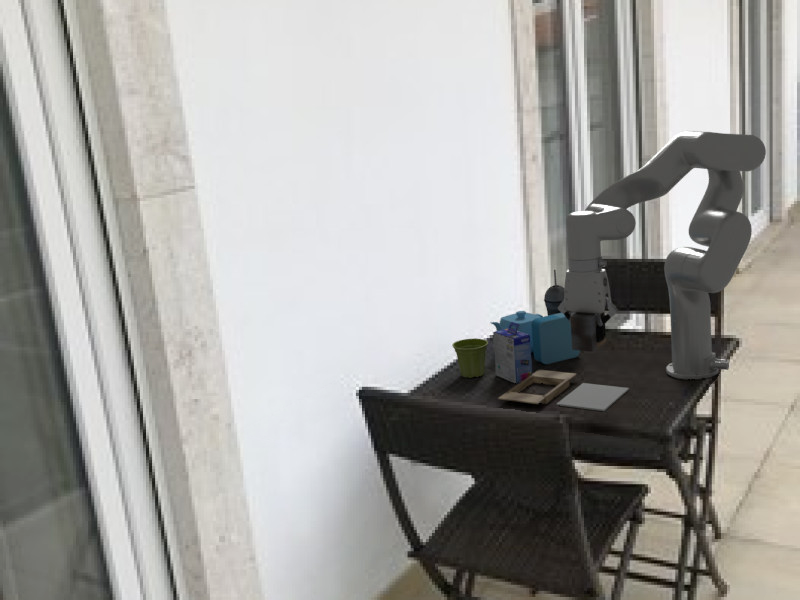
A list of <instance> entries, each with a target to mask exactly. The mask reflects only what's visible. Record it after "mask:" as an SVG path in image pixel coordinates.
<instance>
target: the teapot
mask: <svg viewBox="0 0 800 600" xmlns="http://www.w3.org/2000/svg"><path fill="white" fill-rule="evenodd" d="M540 317H544V316H543V315H542V314H539V313H535V314H534V313H531V312H526V311H525V310H518V311H516V312H515V313H512V314H508V315H505V316H501V318H500V320H499V322H498V321H491V322H490V324H491V325H493V326H495V330H496V331H499V330H503V329H508V328H509V326H510V324H511V322H514V323H517V324H519V327H518V330H517V331H519V332H522V333H526V334H529V335H530V347H531V354H534V352H533V339H532V326H531V324H532V321H533V320H534V319H536V318H540ZM511 328H513V329H516V327H515V326H514V325H513V326H511Z"/></svg>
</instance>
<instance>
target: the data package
mask: <svg viewBox="0 0 800 600" xmlns="http://www.w3.org/2000/svg"><path fill="white" fill-rule="evenodd" d="M531 326H532V339H533V358H534V360H535V361H537V362H540V363H541V364H544V365H551V364H554V363H559V362H562V361H566V360H570V359H574V358H577V357H578V356H579V355H580V354H581V351H579V350H572V338H571V324H570V322H569V320H568V319H567V318H566V317H565V315H564V314H563V313H558V314H553V315H549V316H548V315H545V316H543V317H540V318H536V319H534V320H533V321H532V324H531Z"/></svg>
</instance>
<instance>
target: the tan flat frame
mask: <svg viewBox="0 0 800 600" xmlns="http://www.w3.org/2000/svg"><path fill="white" fill-rule="evenodd" d="M576 376H577V373H576V372H575V373H573V372H564V371H555V370H544V369H537V370H536V371H535V372H532V375H530V376H529V377H528V378H526V379H525V380H523V381H522V382H520V383H517V384H516V385H515V386H513V387H512V388H510V389H509V390H508V391H506V392H505V393H503V394H502V395H500V396H499V397H498V398H497V399H498V400H500V401H501V400H503V401H510V402H511V401H512V402H517V403H526V404H533V405H540V404H539V403H542V404H541V405H543V404H544V405H545V404H546V405H547V404H549V402H551V401H552V400H554V399H555V398H556V397H557V396H559V395H560V394H561V393H563V392H564V391H566V390H567V389H568V388H569V387H570V386H571V385H570V380H572V379H574V378H575V377H576ZM541 383H543V385H550V386H551V385H552V386H555V387H553V388H552V389H551V390H549V391H548V392H547V393H545V394H544V395H540V394H531V393H525V392H522V391H521V390H523V389H524V388H525V389H527V388H528V387H530V386H531V385H532V384H541ZM529 385H530V386H529ZM527 386H528V387H527ZM526 387H527V388H526ZM525 389H524V390H525ZM524 390H523V391H524ZM519 391H521V392H520V393H518V392H519ZM554 397H555V398H554Z"/></svg>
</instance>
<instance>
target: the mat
mask: <svg viewBox="0 0 800 600" xmlns="http://www.w3.org/2000/svg"><path fill="white" fill-rule="evenodd" d="M629 390H630V388H629V387H625V386H623V387H621V386H614V385H605V384H596V383H595V384H594V383H587V382H582V383H581V384H580V385H578V386H577V387H576V388H575V389H574V390H572V391H571V392H569V393H568V394H567V395H566V396H564V397H563V398H562V399H561V400H559V401H558V402H556V406H559V405H560V406H561V407H569V408H575V409H576V408H577V409H583V410H584V409H585V410H590V411H591V410H592V411H601V412H605V411H606V410H607V409H609V408H610V407H611V406H612V405H613V404H614V403H615V402H617V401H618V400H619V399H621V397H622V396H624V394H626V393H627V392H628V391H629Z"/></svg>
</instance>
